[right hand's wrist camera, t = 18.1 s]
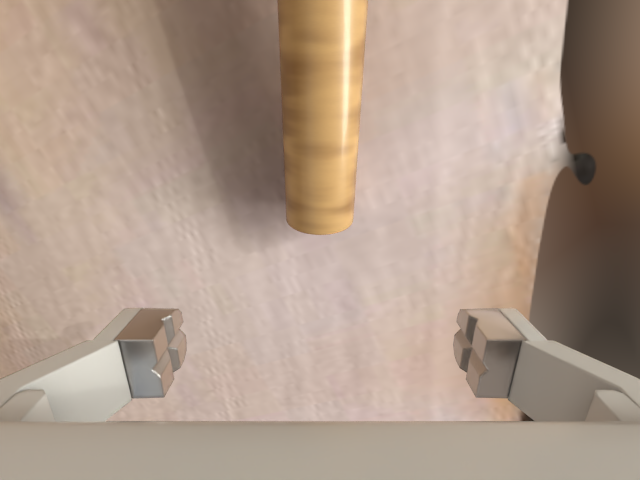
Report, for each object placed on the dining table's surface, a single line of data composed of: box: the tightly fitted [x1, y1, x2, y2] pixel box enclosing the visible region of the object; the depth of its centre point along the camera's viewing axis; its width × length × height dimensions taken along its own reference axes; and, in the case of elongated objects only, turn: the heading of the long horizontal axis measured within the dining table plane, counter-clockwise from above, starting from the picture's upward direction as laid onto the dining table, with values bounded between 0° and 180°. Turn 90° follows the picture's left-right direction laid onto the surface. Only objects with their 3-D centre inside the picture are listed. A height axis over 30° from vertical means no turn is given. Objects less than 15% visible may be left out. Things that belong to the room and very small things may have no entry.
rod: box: [278, 0, 368, 235], centre depth 25 cm, size 28×6×6 cm, turn 0°
